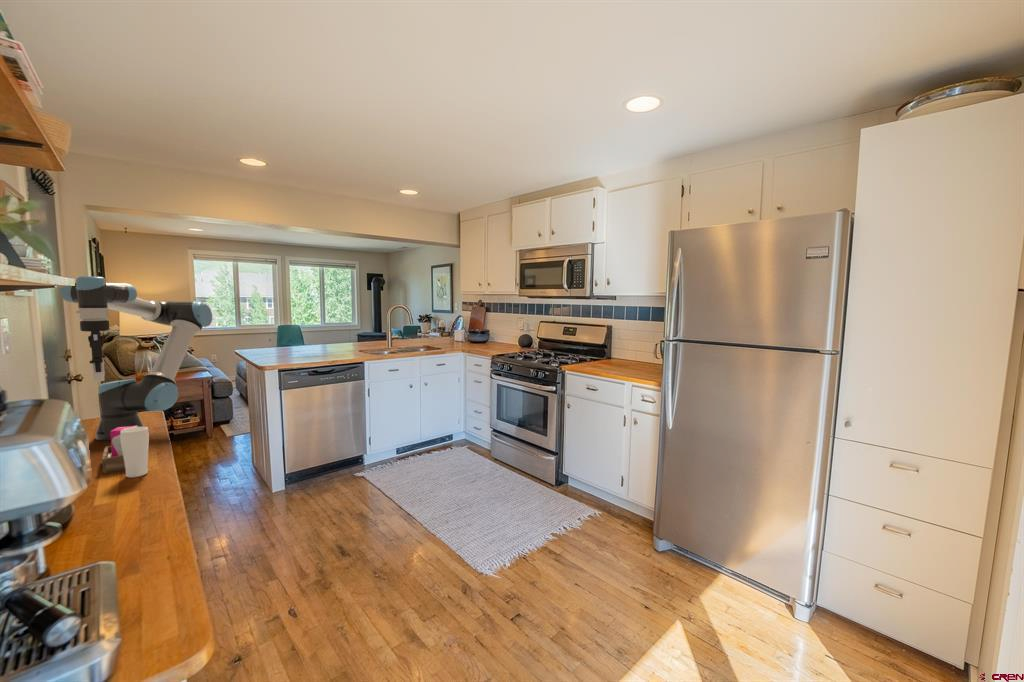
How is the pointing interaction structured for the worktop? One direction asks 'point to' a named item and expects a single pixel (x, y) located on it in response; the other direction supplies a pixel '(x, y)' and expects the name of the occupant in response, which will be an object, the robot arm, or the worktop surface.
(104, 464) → the crate
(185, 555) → the worktop surface
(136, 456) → the white cup
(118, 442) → the supplement box
